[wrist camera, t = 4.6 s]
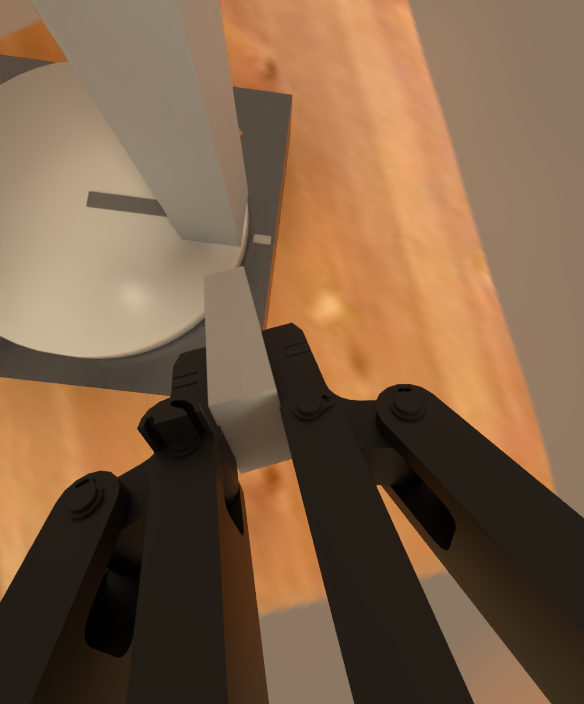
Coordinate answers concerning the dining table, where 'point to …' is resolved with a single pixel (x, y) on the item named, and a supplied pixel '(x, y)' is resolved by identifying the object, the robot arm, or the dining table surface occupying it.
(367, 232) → the dining table surface
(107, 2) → the dial
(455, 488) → the robot arm
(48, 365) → the dial housing
